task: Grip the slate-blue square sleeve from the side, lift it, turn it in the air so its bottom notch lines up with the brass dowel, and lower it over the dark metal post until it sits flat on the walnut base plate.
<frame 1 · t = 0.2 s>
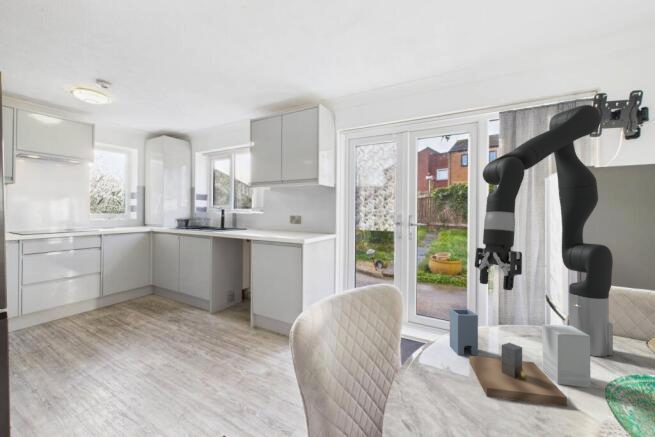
hand: (495, 286, 81), 22 cm above the table, tool pointing down, fingers open, 8 cm apart
sleeve: (463, 350, 91), on the table
post: (512, 360, 73), on the base plate, point 6 cm above the table
supplement box: (565, 379, 75), on the table
base plate: (511, 381, 73), on the table
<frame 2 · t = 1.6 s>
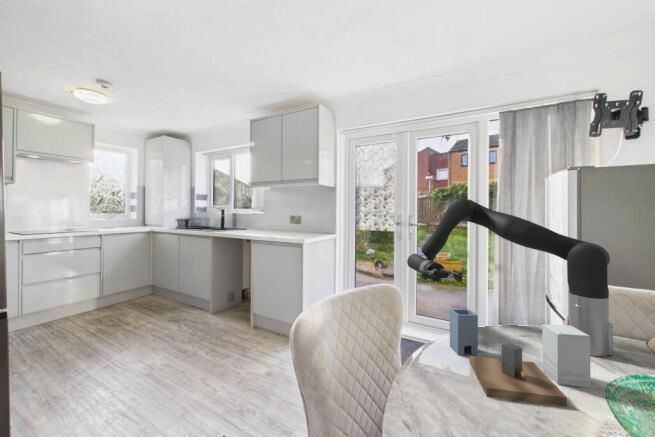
hand: (448, 279, 101), 20 cm above the table, tool horizontal, fingers open, 8 cm apart
nothing on the table moved.
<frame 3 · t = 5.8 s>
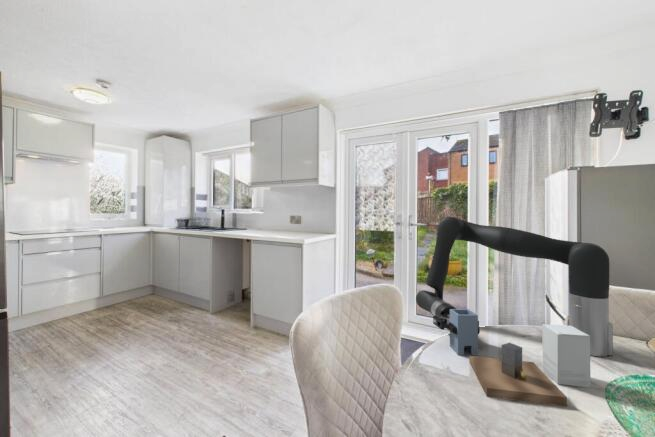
hand: (467, 331, 88), 7 cm above the table, tool horizontal, fingers closed on sleeve, 6 cm apart
sleeve: (463, 350, 91), on the table, touching gripper
everything else where it was.
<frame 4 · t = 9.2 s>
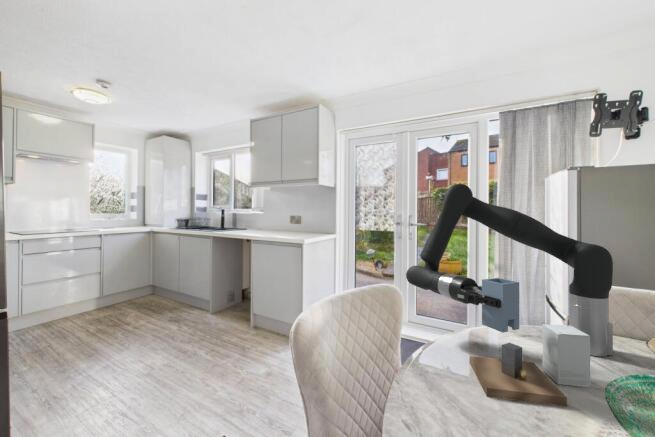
hand: (509, 302, 74), 20 cm above the table, tool horizontal, fingers closed on sleeve, 6 cm apart
sleeve: (500, 326, 76), point 13 cm above the table, touching gripper
everything else where it was.
when the fingers open (10 cm above the table, at t = 12.5 s): sleeve stays where it is, resting on base plate.
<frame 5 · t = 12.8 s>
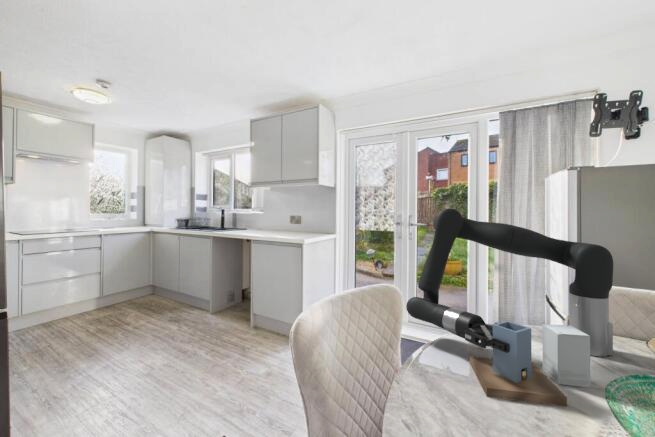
hand: (519, 345, 71), 10 cm above the table, tool horizontal, fingers open, 8 cm apart
sleeve: (511, 373, 73), point 2 cm above the table, touching base plate
everything else where it was.
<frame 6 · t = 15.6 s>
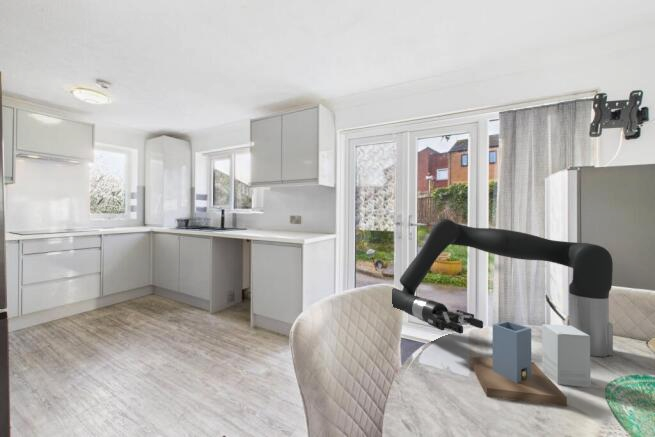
hand: (472, 327, 83), 10 cm above the table, tool horizontal, fingers open, 8 cm apart
nothing on the table moved.
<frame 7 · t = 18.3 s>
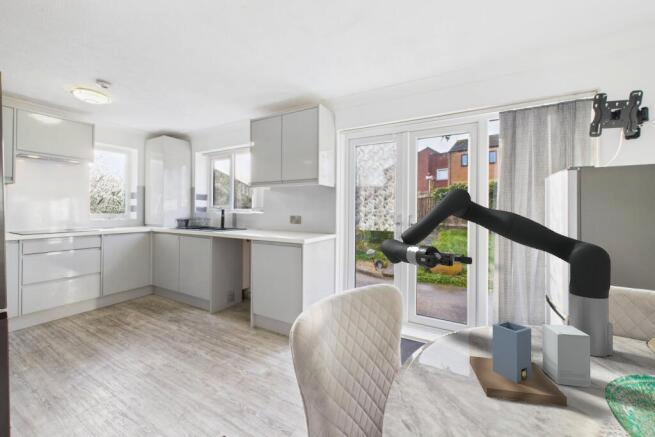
hand: (462, 261, 88), 28 cm above the table, tool horizontal, fingers open, 8 cm apart
nothing on the table moved.
at the end: sleeve 0.0 cm off-centre on the post, point 2.0 cm above the post's base; sleeve tilted 0°; the gripper is holding nothing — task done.
